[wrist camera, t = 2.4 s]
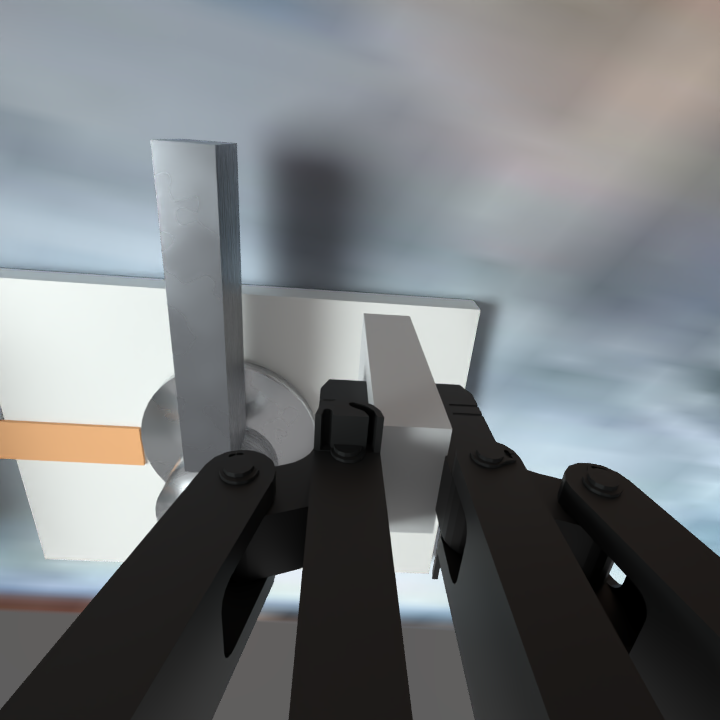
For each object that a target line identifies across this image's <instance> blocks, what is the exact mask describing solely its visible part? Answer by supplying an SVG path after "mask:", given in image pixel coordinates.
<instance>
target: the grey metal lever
mask: <svg viewBox="0 0 720 720" xmlns="http://www.w3.org/2000/svg"><path fill="white" fill-rule="evenodd" d="M150 143H151V152H152V162H153V171H154V181H155V191H156V200H157V210H158V219H159V229H160V239H161V248H162V258H163V268H164V277H165V287H166V296H167V306H168V316H169V325H170V335H171V344H172V354H173V364H174V374H173V375H172V376H170V377H169V378H168V379H167V380H166V381H165V382H164V383H163V384H162V385H161V386H160V387H159V388H158V390H157V391H156V392H155V394H154V395H153V397H152V398H151V400H150V401H149V402H148V405H147V407H146V409H145V411H144V415H143V418H142V425H141V438H142V443H143V448H144V451H145V453H146V456H147V458H148V460H149V462H150V464H151V466H152V467H153V469H154V470H155V471H156V473H157V474H158V475H159V476H160V477H161V478H162V479H163V480H164V481H165V485H164V487H163V489H162V491H161V493H160V494H159V496H158V498H157V502H156V507H155V511H156V518H157V521H159V519H160V518H161V517H162V516H163V515H164V513H165V512H166V511H167V510H168V509H169V507H170V506H171V505H172V504H173V503H174V501H175V500H176V499H177V498H178V497H179V495H180V494H181V493H182V492H183V491H184V489H185V488H186V487H187V486H188V485H189V484H190V482H191V481H192V480H193V479H194V478H195V476H196V475H197V474H198V473H199V472H200V470H201V469H202V468H203V467H204V466H205V464H207V463H208V462H209V461H210V460H212V459H213V458H214V457H216V456H218V455H221V454H223V453H225V452H229V451H236V450H252V451H256V452H259V453H262V454H265V455H266V456H267V457H269V458H270V459H271V460H272V461H273V463H274V465H275V466H279V465H285V464H289V463H293V462H296V461H298V460H300V459H303V458H304V457H306V456H307V455H308V454H310V452H311V451H312V450H313V448H314V430H315V417H314V414H313V412H312V410H311V408H310V406H309V404H308V402H307V401H306V399H305V398H304V397H303V395H302V394H301V393H300V392H299V391H298V390H297V389H296V388H295V386H293V385H292V384H291V383H290V382H289V381H287V380H286V379H285V378H283V377H282V376H280V375H279V374H277V373H275V372H273V371H271V370H269V369H267V368H265V367H262V366H260V365H257V364H254V363H250V362H246V361H244V347H243V316H242V285H241V255H240V224H239V193H238V162H237V143H227V142H215V141H202V140H190V139H160V140H150Z"/></svg>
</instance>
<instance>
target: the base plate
mask: <svg viewBox="0 0 720 720" xmlns="http://www.w3.org/2000/svg"><path fill="white" fill-rule="evenodd" d="M241 285H242V316H243V347H244V361H246V362H250V363H254V364H257V365H260V366H262V367H265V368H267V369H269V370H271V371H273V372H275V373H277V374H279V375H280V376H282V377H283V378H285V379H286V380H287V381H289V382H290V383H291V384H292V385H293V386H295V388H296V389H297V390H298V391H299V392H300V393H301V394H302V395H303V397H304V398H305V399H306V401H307V402H308V404H309V406H310V408H311V410H312V412H313V414H314V417H315V414H316V412H317V410H318V408H319V401H320V390H321V387H322V386H323V385H324V384H325V383H326V382H327V381H328V380H329V379H336V380H355V381H358V373H359V361H360V349H361V337H362V325H363V314H364V313H369V314H385V315H401V316H410V318H411V320H412V323H413V326H414V328H415V331H416V334H417V336H418V339H419V342H420V344H421V347H422V350H423V352H424V355H425V358H426V360H427V363H428V366H429V368H430V371H431V374H432V376H433V379H434V381H435V383H437V384H456V385H461V386H462V387H463V388H464V389H465V386H466V381H467V376H468V371H469V366H470V361H471V356H472V351H473V346H474V341H475V335H476V330H477V325H478V320H479V315H480V309H479V307H478V306H477V305H476V303H475V302H474V301H473V300H465V299H450V298H435V297H421V296H406V295H391V294H377V293H362V292H347V291H332V290H318V289H303V288H288V287H273V286H259V285H244V284H241ZM173 374H174V364H173V354H172V344H171V335H170V325H169V316H168V306H167V296H166V287H165V279H156V278H141V277H126V276H112V275H97V274H82V273H67V272H53V271H38V270H23V269H9V268H0V406H1V409H2V412H3V416H4V419H5V420H0V459H16V460H17V464H18V467H19V471H20V474H21V477H22V481H23V484H24V488H25V491H26V495H27V498H28V501H29V505H30V508H31V512H32V515H33V519H34V522H35V525H36V529H37V532H38V536H39V539H40V543H41V546H42V549H43V553H44V556H45V559H55V560H81V561H107V562H124V561H125V560H126V559H127V558H128V556H129V555H130V554H131V553H132V552H133V551H134V549H135V548H136V547H137V546H138V545H139V543H140V542H141V541H142V540H143V539H144V537H145V536H146V535H147V534H148V533H149V531H150V530H151V529H152V528H153V527H154V525H155V524H156V523H157V522H158V521H157V518H156V511H155V507H156V502H157V498H158V496H159V494H160V493H161V491H162V489H163V487H164V485H165V481H164V480H163V479H162V478H161V477H160V476H159V475H158V474H157V473H156V471H155V470H154V469H153V467H152V466H151V464H150V462H149V460H148V458H147V456H146V453H145V451H144V448H143V443H142V438H141V425H142V418H143V415H144V411H145V409H146V407H147V405H148V402H149V401H150V400H151V398H152V397H153V395H154V394H155V392H156V391H157V390H158V388H159V387H160V386H161V385H162V384H163V383H164V382H165V381H166V380H167V379H168V378H169V377H170V376H172V375H173ZM438 524H439V523H438V519H437V515H436V519H435V525H434V530H433V534H429V533H400V532H390V537H391V545H392V554H393V562H394V570H395V572H396V573H422V574H429V569H430V564H431V559H432V554H433V549H434V544H435V539H436V534H437V529H438ZM300 569H303V568H300Z"/></svg>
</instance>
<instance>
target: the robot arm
mask: <svg viewBox="0 0 720 720" xmlns="http://www.w3.org/2000/svg"><path fill="white" fill-rule="evenodd" d="M436 515H437V519H438V523H439V527H440V535H439V540H438V545H437V550H436V555H435V560H434V565H433V573H432V579H438V574H439V569H440V568H441V571H442V575H443V580H444V584H445V589H446V593H447V598H448V602H449V607H450V611H451V615H452V620H453V624H454V629H455V633H456V637H457V642H458V646H459V651H460V656H461V660H462V665H463V669H464V674H465V678H466V682H467V687H468V691H469V695H470V700H471V705H472V709H473V714H474V718H475V720H720V557H719V556H718V555H717V554H715V553H714V552H713V551H712V550H711V549H710V548H708V547H707V546H706V545H705V544H704V543H702V542H701V541H700V540H699V539H698V538H697V537H695V536H694V535H693V534H692V533H691V532H689V531H688V530H687V529H686V528H685V527H684V526H682V525H681V524H680V523H679V522H678V521H677V520H675V519H674V518H673V517H672V516H671V515H669V514H668V513H667V512H666V511H665V510H664V509H662V508H661V507H660V506H659V505H658V504H656V503H655V502H654V501H653V500H652V499H651V498H649V497H648V496H647V495H646V494H645V493H644V492H642V491H641V490H640V489H639V488H638V487H636V486H635V485H634V484H633V483H632V482H631V481H629V480H628V479H626V478H625V477H623V476H622V475H621V474H619V473H618V472H615V471H613V470H611V469H608V468H607V467H604V466H601V465H597V464H591V463H577V464H574V465H570V466H569V467H568V468H567V469H566V471H565V472H564V475H563V478H562V479H558V478H554V477H550V476H546V475H542V474H538V473H535V472H532V471H529V470H527V469H526V467H525V466H524V464H523V462H522V460H521V459H520V457H519V456H518V455H517V454H516V453H515V452H514V451H513V450H511V449H510V448H508V447H507V446H505V445H503V444H500V443H497V442H496V441H495V439H494V437H493V435H492V433H491V431H490V429H489V427H488V425H487V423H486V421H485V419H484V417H483V416H482V413H481V411H480V409H479V407H477V403H476V401H475V399H474V398H473V396H472V394H471V393H469V392H468V391H467V390H466V389H464V388H463V387H462V386H461V385H456V384H437V383H435V381H434V379H433V376H432V374H431V371H430V368H429V366H428V363H427V360H426V358H425V355H424V352H423V350H422V347H421V344H420V342H419V339H418V336H417V334H416V331H415V328H414V326H413V323H412V320H411V318H410V316H401V315H385V314H369V313H364V314H363V325H362V337H361V349H360V361H359V373H358V381H355V380H336V379H329V380H328V381H327V382H326V383H325V384H324V385H323V386H322V387H321V390H320V401H319V408H318V410H317V412H316V414H315V430H314V448H313V450H312V451H311V452H310V454H308V455H307V456H306V457H304V458H303V459H300V460H298V461H296V462H293V463H289V464H285V465H279V466H275V465H274V463H273V461H272V460H271V459H270V458H269V457H267V456H266V455H265V454H262V453H259V452H256V451H252V450H236V451H229V452H225V453H223V454H221V455H218V456H216V457H214V458H213V459H212V460H210V461H209V462H208V463H207V464H205V466H204V467H203V468H202V469H201V470H200V472H199V473H198V474H197V475H196V476H195V478H194V479H193V480H192V481H191V482H190V484H189V485H188V486H187V487H186V488H185V489H184V491H183V492H182V493H181V494H180V495H179V497H178V498H177V499H176V500H175V501H174V503H173V504H172V505H171V506H170V507H169V509H168V510H167V511H166V512H165V513H164V515H163V516H162V517H161V518H160V519H159V521H158V522H157V523H156V524H155V525H154V527H153V528H152V529H151V530H150V531H149V533H148V534H147V535H146V536H145V537H144V539H143V540H142V541H141V542H140V543H139V545H138V546H137V547H136V548H135V549H134V551H133V552H132V553H131V554H130V555H129V556H128V558H127V559H126V560H125V561H124V562H123V564H122V565H121V566H120V567H119V568H118V570H117V571H116V572H115V573H114V574H113V576H112V577H111V578H110V579H109V580H108V582H107V583H106V584H105V585H104V586H103V588H102V589H101V590H100V591H99V592H98V594H97V595H96V596H95V597H94V598H93V600H92V601H91V602H90V603H89V604H88V606H87V607H86V608H85V609H84V610H83V612H82V613H81V614H80V615H79V616H78V617H77V619H76V620H75V621H74V622H73V623H72V625H71V626H70V627H69V628H68V629H67V631H66V632H65V633H64V634H63V635H62V637H61V638H60V639H59V640H58V641H57V643H56V644H55V645H54V646H53V647H52V649H51V650H50V651H49V652H48V653H47V655H46V656H45V657H44V658H43V659H42V661H41V662H40V663H39V664H38V665H37V667H36V668H35V669H34V670H33V671H32V673H31V674H30V675H29V676H28V677H27V679H26V680H25V681H24V683H22V685H21V686H20V687H19V688H18V689H17V690H16V692H15V693H14V694H13V695H12V696H11V698H10V699H9V700H8V701H7V702H6V704H5V705H4V706H3V707H2V708H1V710H0V720H212V718H213V716H214V714H215V712H216V709H217V707H218V705H219V703H220V701H221V698H222V696H223V694H224V692H225V690H226V687H227V685H228V683H229V680H230V678H231V676H232V674H233V671H234V669H235V667H236V665H237V663H238V661H239V658H240V656H241V654H242V652H243V649H244V647H245V645H246V643H247V640H248V638H249V636H250V634H251V631H252V629H253V627H254V625H255V623H256V620H257V618H258V616H259V614H260V612H261V609H262V607H263V605H264V603H265V600H266V598H267V596H268V594H269V592H270V589H271V587H272V585H273V583H274V578H275V575H277V574H281V573H285V572H289V571H293V570H297V569H300V568H303V571H302V581H301V592H300V603H299V614H298V626H297V636H296V646H295V657H294V669H293V679H292V689H291V702H290V711H289V720H413V719H412V711H411V702H410V694H409V685H408V677H407V670H406V661H405V654H404V653H405V652H404V644H403V636H402V628H401V619H400V611H399V603H398V595H397V587H396V578H395V570H394V562H393V554H392V545H391V537H390V532H400V533H429V534H433V530H434V525H435V519H436ZM613 563H615V564H616V565H617V566H618V567H619V568H620V569H621V570H622V571H623V572H624V574H625V575H626V578H625V580H624V583H623V584H622V585H621V584H619V583H617V582H616V581H615V580H614V579H613V578H612V577H611V576H610V574H609V573H610V571H611V568H612V566H613Z"/></svg>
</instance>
